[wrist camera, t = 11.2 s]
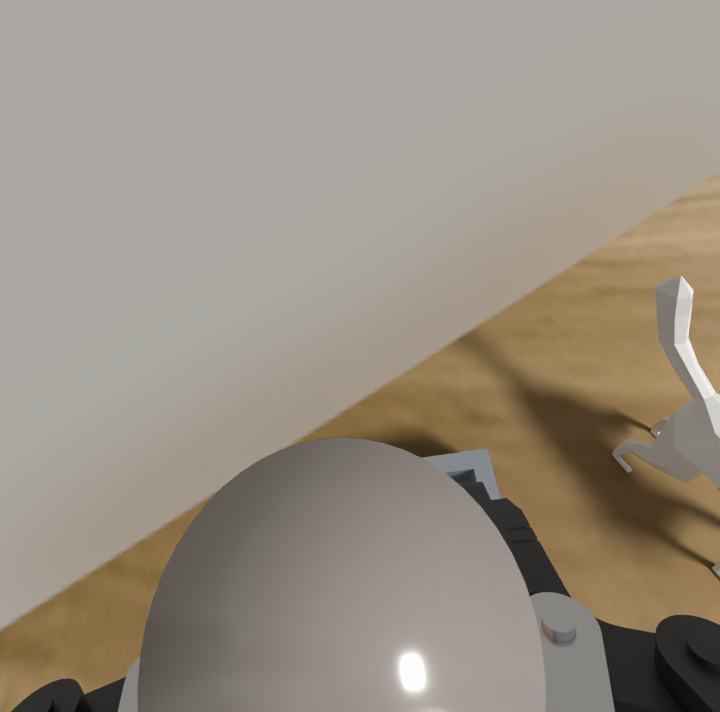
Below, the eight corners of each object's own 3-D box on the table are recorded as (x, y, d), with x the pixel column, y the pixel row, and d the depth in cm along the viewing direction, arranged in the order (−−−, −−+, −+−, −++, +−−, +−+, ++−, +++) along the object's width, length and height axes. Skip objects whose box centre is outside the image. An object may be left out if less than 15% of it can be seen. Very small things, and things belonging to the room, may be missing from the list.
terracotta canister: (318, 693, 13) (97, 968, 4) (312, 521, 15) (166, 461, 6) (480, 677, 12) (624, 945, 4) (446, 504, 15) (482, 416, 6)
